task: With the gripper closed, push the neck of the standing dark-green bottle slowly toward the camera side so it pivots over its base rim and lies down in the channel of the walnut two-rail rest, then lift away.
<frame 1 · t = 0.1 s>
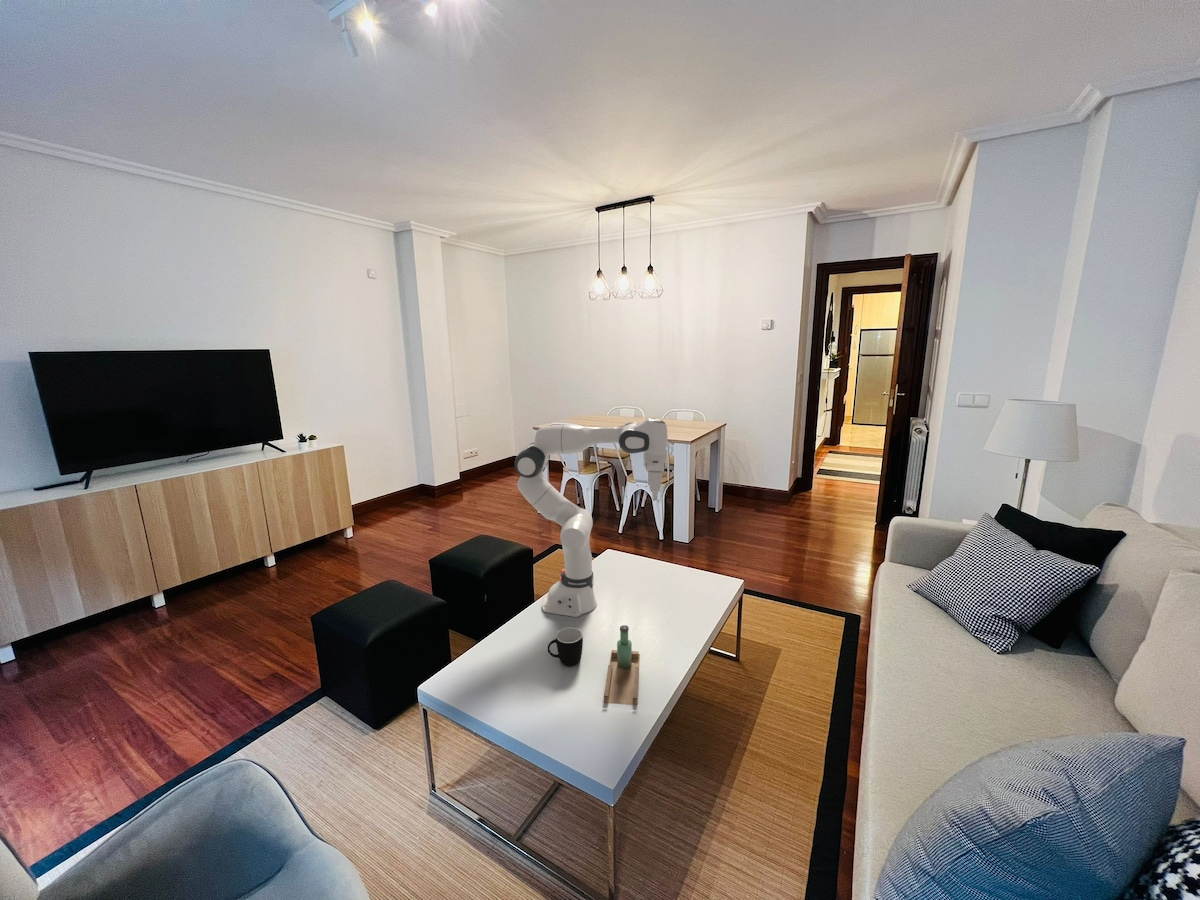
hand: (655, 495, 184), 48 cm above the table, fingers open, 8 cm apart
rest: (623, 677, 155), on the table
mug: (565, 662, 163), on the table
bottle: (624, 664, 161), resting on rest
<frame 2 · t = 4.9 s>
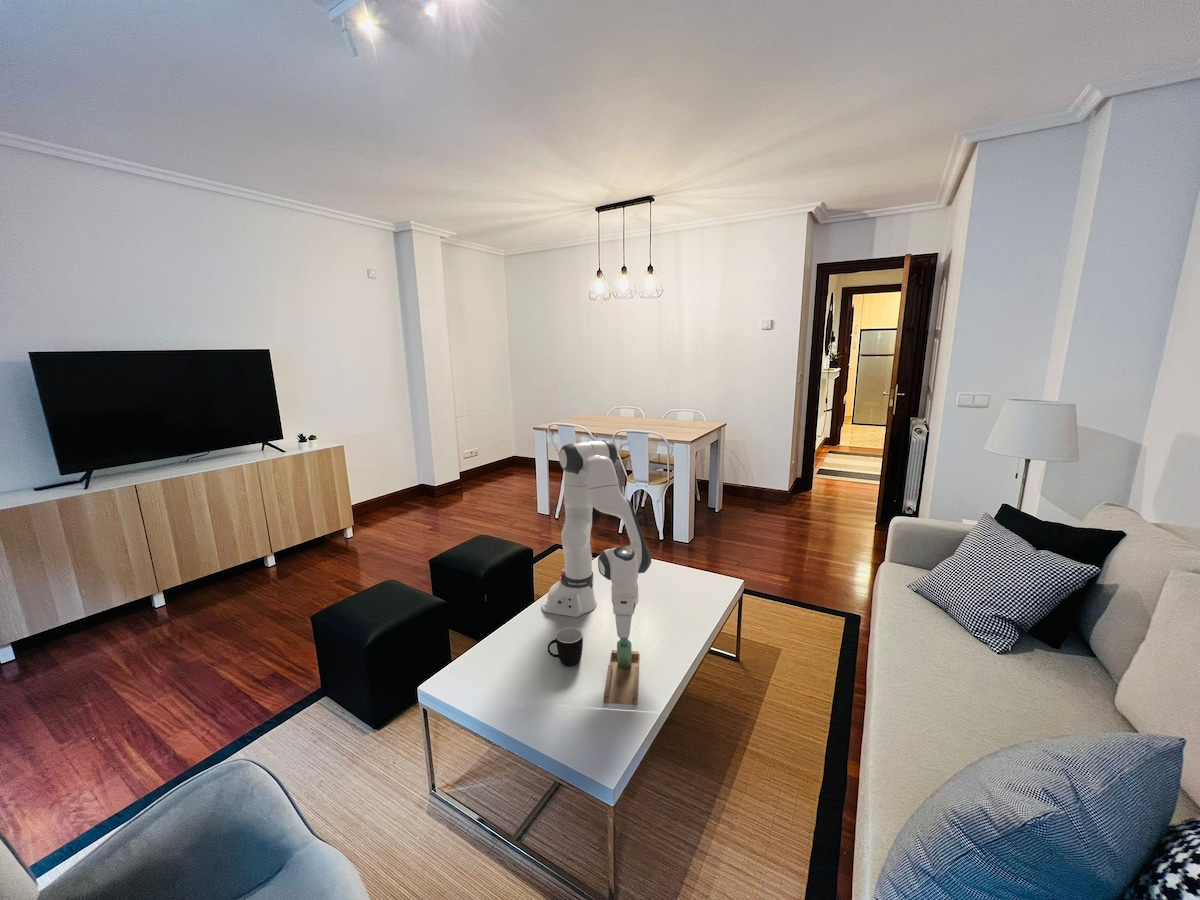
hand: (625, 633, 161), 10 cm above the table, fingers closed
bottle: (624, 663, 161), point 1 cm above the table, tilted 6°, touching gripper, rest
everything else where it was.
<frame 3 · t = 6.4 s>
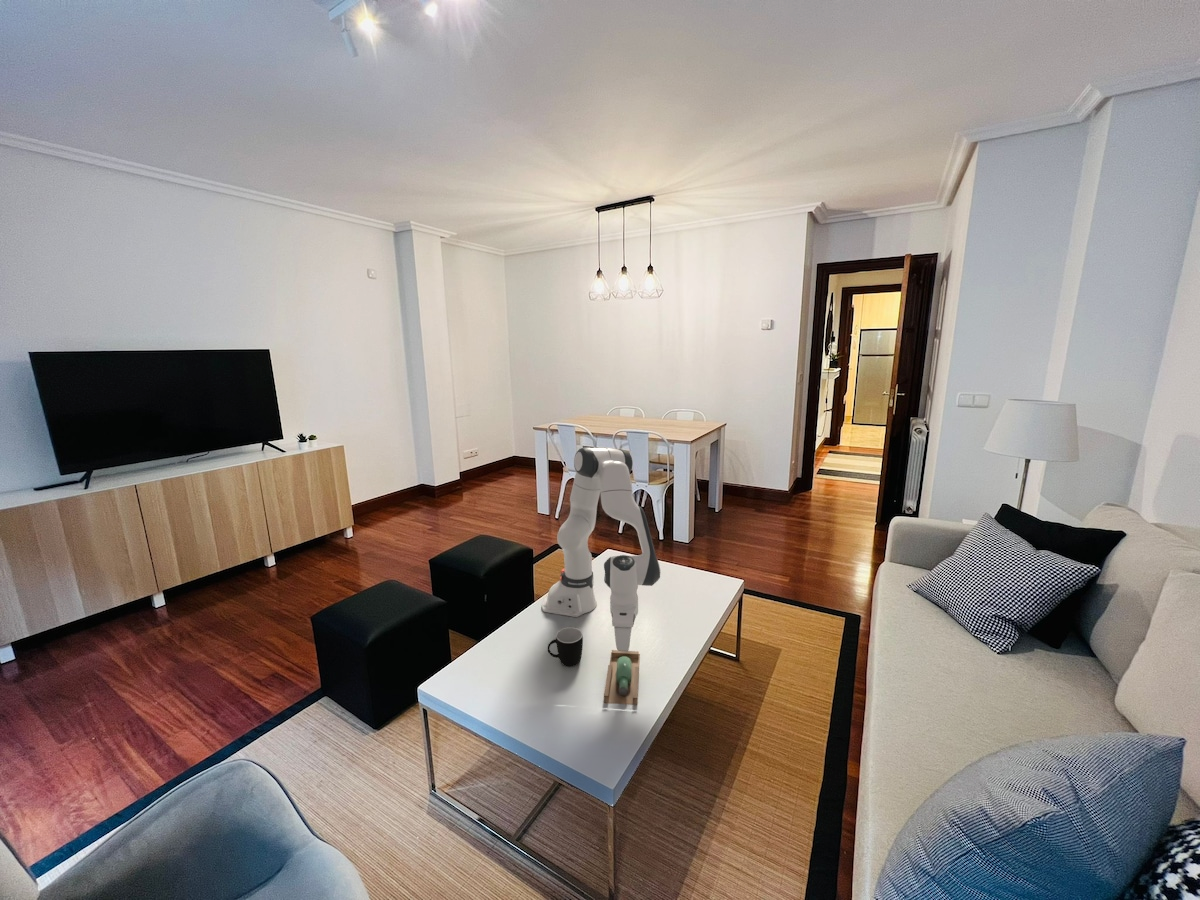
hand: (624, 645, 155), 10 cm above the table, fingers closed
bottle: (624, 662, 158), point 3 cm above the table, tilted 90°, touching rest
everything else where it was.
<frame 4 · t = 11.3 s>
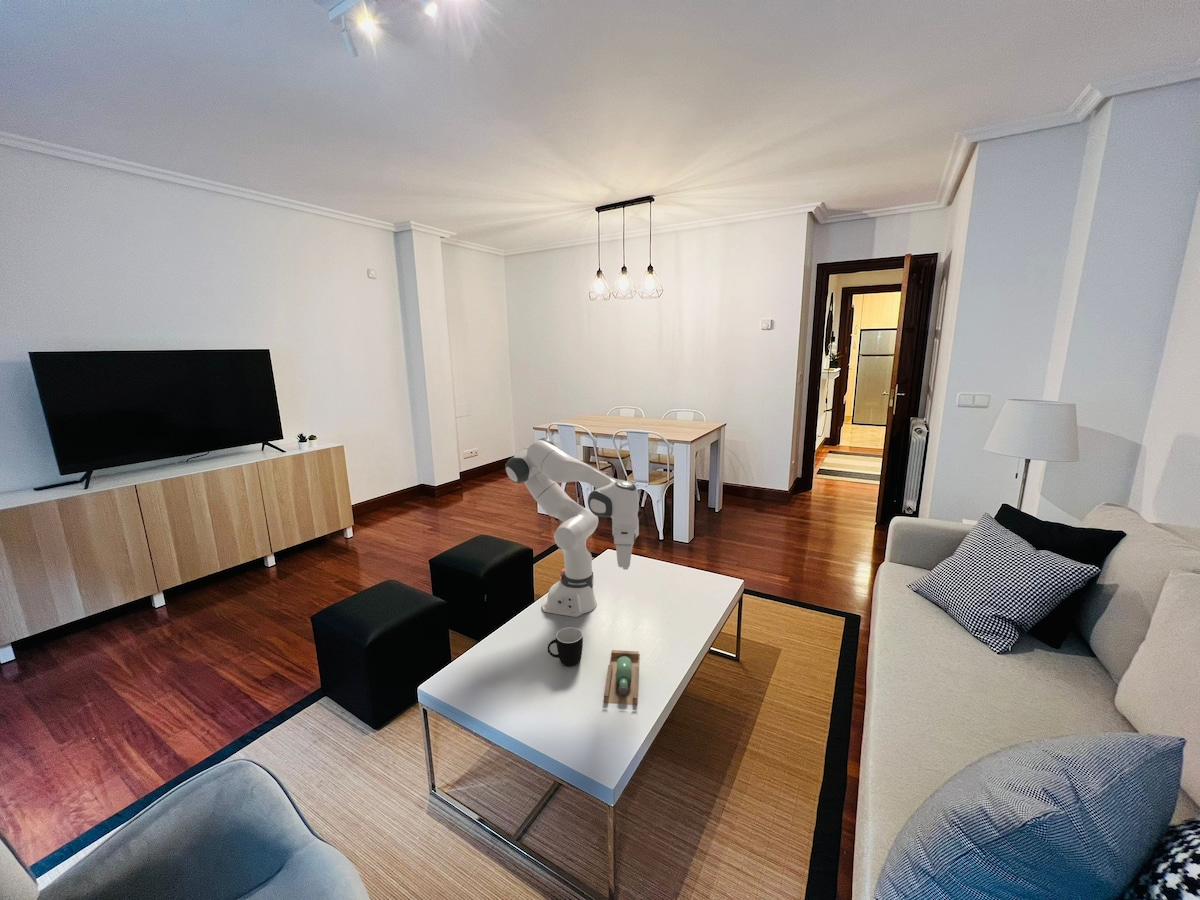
hand: (625, 567, 163), 31 cm above the table, fingers closed
nothing on the table moved.
at the end: bottle tilted 90°; bottle inside the target area (0.6 cm from its centre), point 2.7 cm above the table; the gripper is holding nothing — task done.
